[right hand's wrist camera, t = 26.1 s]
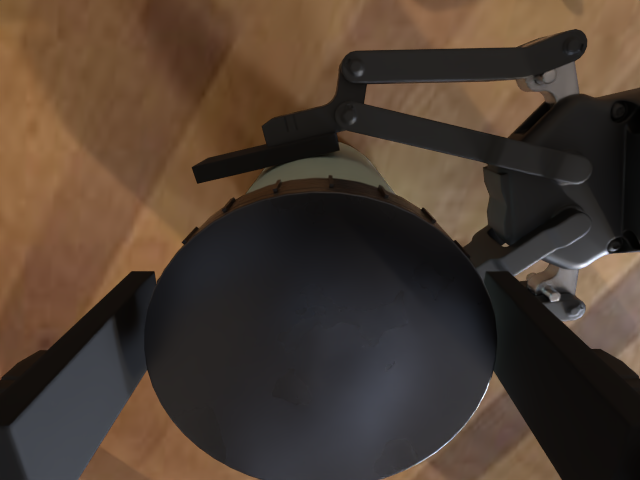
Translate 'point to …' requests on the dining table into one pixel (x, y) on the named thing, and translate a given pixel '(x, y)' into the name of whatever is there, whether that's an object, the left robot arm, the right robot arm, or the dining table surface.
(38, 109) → the dining table surface
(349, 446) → the lid
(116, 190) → the dining table surface
